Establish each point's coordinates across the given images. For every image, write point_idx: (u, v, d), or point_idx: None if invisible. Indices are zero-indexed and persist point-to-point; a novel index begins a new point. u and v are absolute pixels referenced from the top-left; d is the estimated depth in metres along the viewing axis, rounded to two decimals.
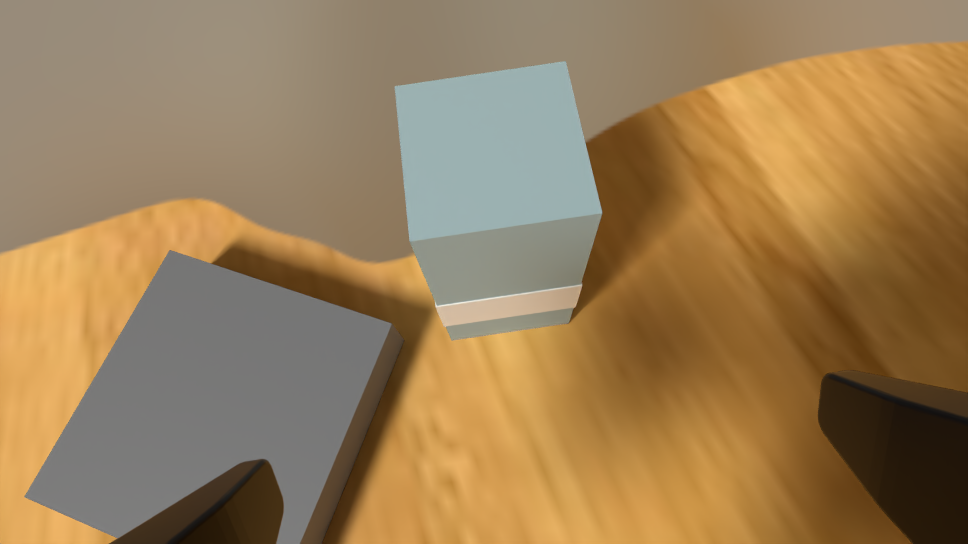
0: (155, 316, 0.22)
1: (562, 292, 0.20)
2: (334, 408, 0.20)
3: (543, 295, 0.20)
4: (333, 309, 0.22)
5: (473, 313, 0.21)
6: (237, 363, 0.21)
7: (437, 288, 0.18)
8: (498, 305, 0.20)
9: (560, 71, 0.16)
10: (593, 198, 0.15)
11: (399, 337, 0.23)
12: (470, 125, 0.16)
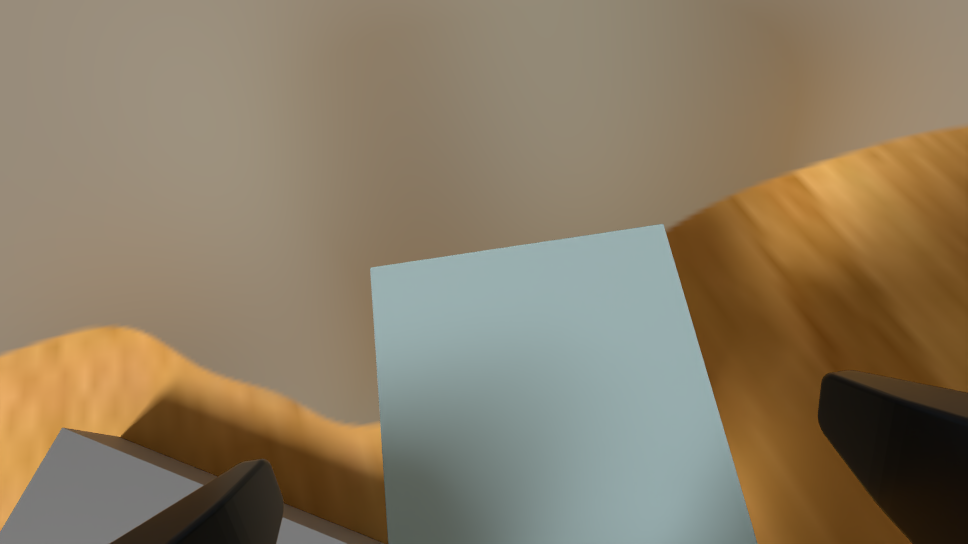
0: (33, 536, 0.15)
1: None
2: None
3: None
4: (290, 529, 0.15)
5: None
6: None
7: None
8: None
9: (656, 243, 0.09)
10: (739, 516, 0.08)
11: None
12: (501, 349, 0.09)
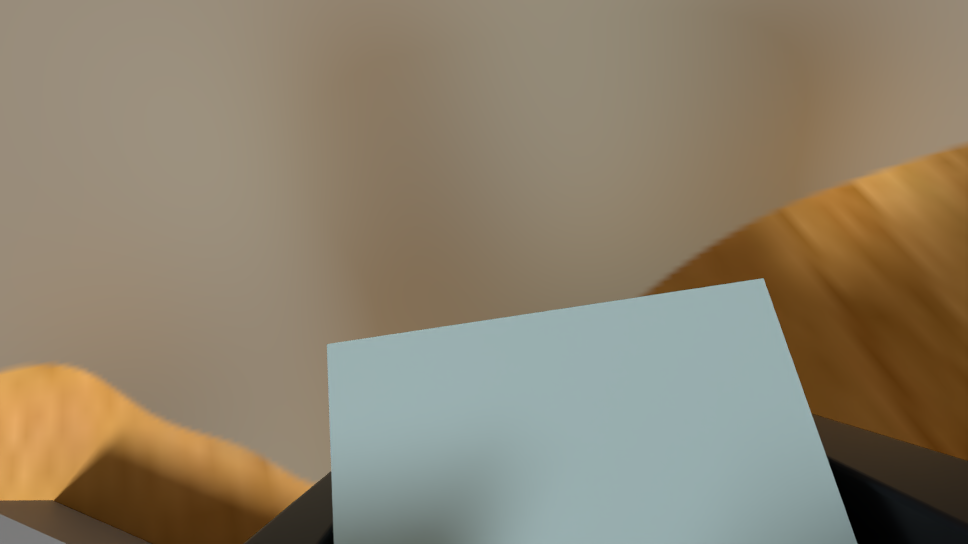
0: None
1: None
2: None
3: None
4: None
5: None
6: None
7: None
8: None
9: (754, 309, 0.06)
10: None
11: None
12: (525, 478, 0.06)
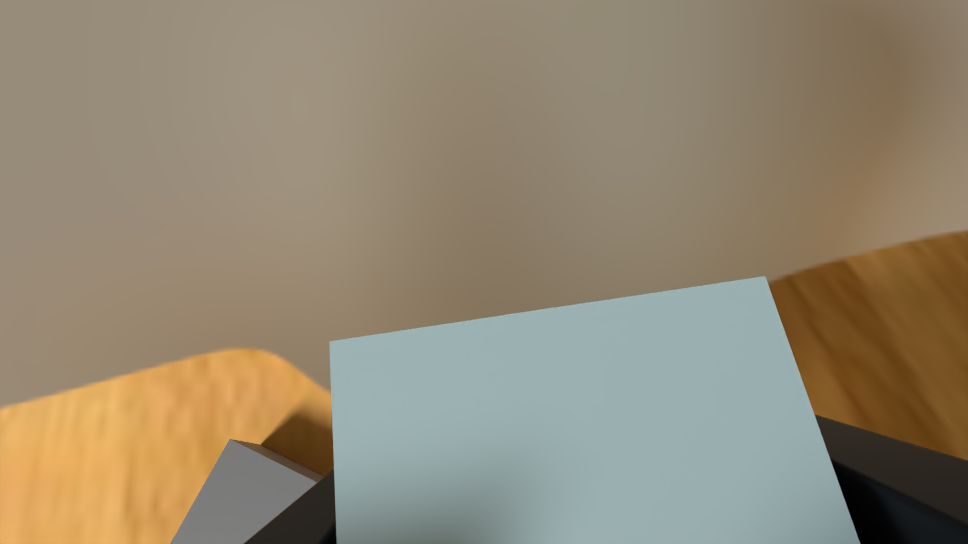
0: (210, 526, 0.19)
1: None
2: None
3: None
4: None
5: None
6: None
7: None
8: None
9: (756, 307, 0.06)
10: None
11: None
12: (528, 475, 0.06)
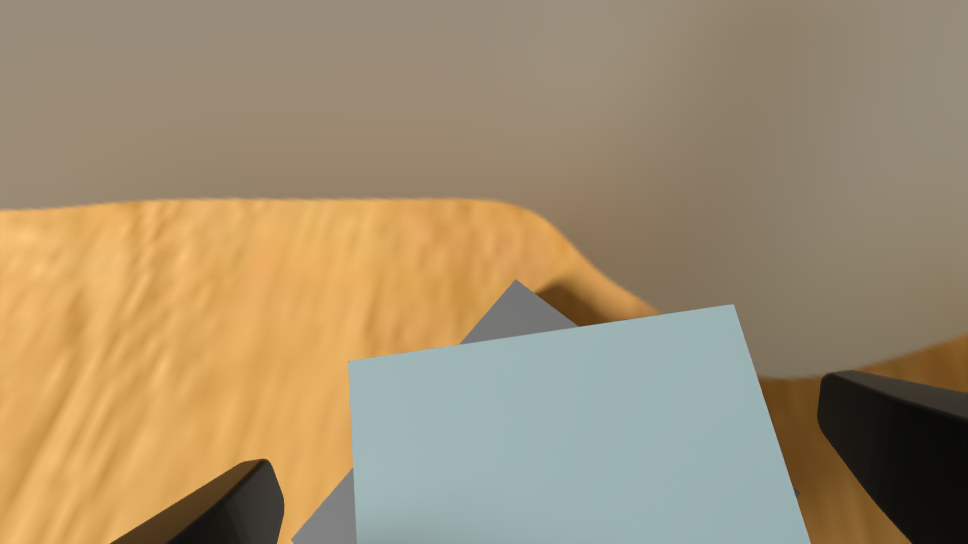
0: None
1: None
2: None
3: None
4: None
5: None
6: None
7: None
8: None
9: (725, 332, 0.07)
10: None
11: None
12: (523, 480, 0.07)
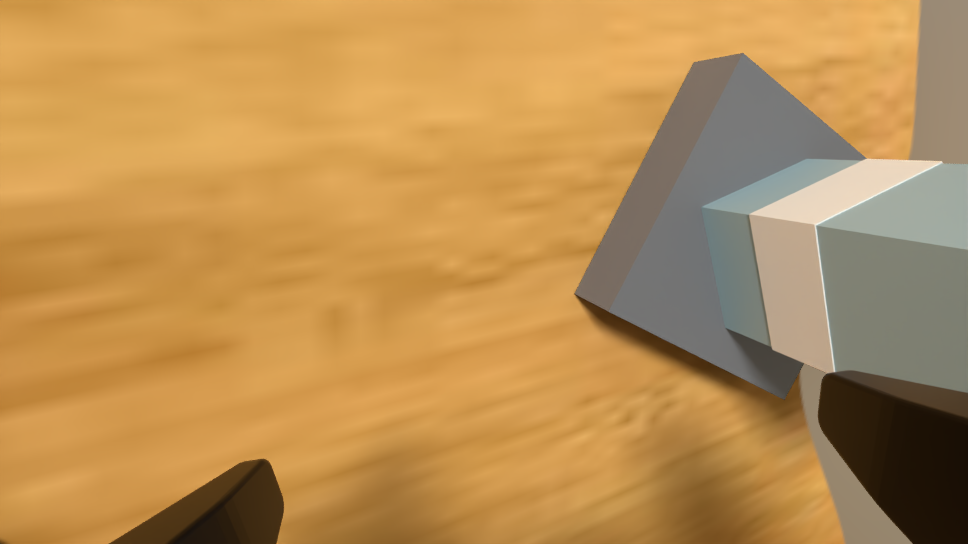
0: None
1: (819, 353, 0.18)
2: (737, 354, 0.22)
3: (816, 334, 0.17)
4: None
5: (782, 255, 0.17)
6: None
7: (873, 242, 0.14)
8: (799, 285, 0.17)
9: None
10: None
11: None
12: None
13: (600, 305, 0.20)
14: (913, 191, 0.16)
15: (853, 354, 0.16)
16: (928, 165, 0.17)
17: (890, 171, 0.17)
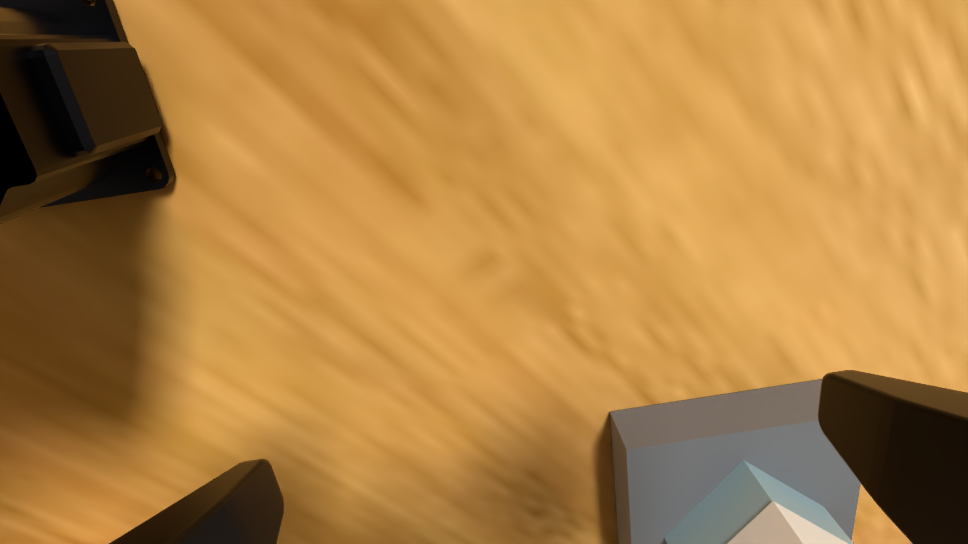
0: None
1: None
2: None
3: None
4: None
5: None
6: None
7: None
8: None
9: None
10: None
11: None
12: None
13: (623, 439, 0.23)
14: None
15: None
16: None
17: None
